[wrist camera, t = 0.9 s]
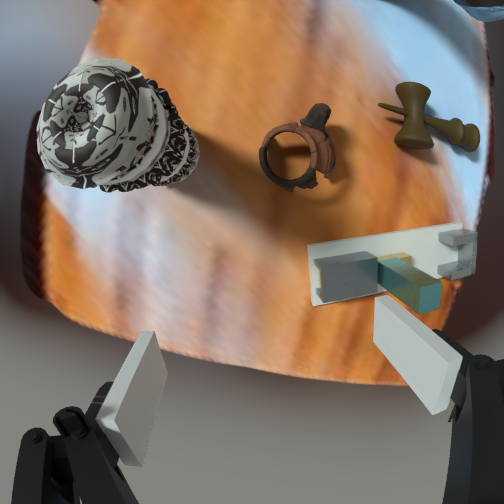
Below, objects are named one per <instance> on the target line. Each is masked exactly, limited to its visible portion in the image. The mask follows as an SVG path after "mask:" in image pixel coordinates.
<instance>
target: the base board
mask: <svg viewBox="0 0 504 504" xmlns="http://www.w3.org/2000/svg"><path fill="white" fill-rule="evenodd" d="M456 229H462V222H454V223H447V224H440V225H434V226H427V227H420V228H413V229H406V230H400V231H393V232H386V233H379V234H373V235H366V236H359V237H352V238H346V239H339V240H332V241H325V242H318V243H312V244H307V251H308V262H309V275H310V288H311V302H312V305H313V306H317V305H323V304H328V303H333V302H338V301H343V300H348V299H353V298H358V297H363V296H367V295H372V294H376V293H381V292H385V291H387V290H386V289H385V288H383V287H382V286H381V285H379V284H378V292H376V293H372V294H367V295H363V296H358V297H353V298H348V299H343V300H338V301H333V302H328V303H323V302H322V301H321V299H320V298H319V297H318V295H317V294H316V288H321V287H320V286H319V273H318V268H317V267H316V266H315V265H314V260H313V259H319V258H325V257H331V256H338V255H344V254H350V253H356V252H362V251H367V252H369V253H371V254H372V255H374V256H376V257H380V256H385V255H391V254H396V253H402V252H404V253H407V254H409V255H411V256H412V261H411V265H412V266H413V267H415V268H417V269H419V270H421V271H423V272H425V273H427V274H429V275H430V276H432V277H434V278H436V279H439V278H442V277H443V276H441V275H439V274H437V268H438V265H442V264H446V263H450V262H454V261H458V245H456V246H452V245H449V244H446V243H443V242H440V241H438V232H444V231H450V230H456Z"/></svg>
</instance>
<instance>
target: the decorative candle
mask: <svg viewBox="0 0 504 504" xmlns="http://www.w3.org/2000/svg"><path fill="white" fill-rule="evenodd" d="M157 88H158V85H157V83H156V81H154V80H153V79H144V77H143V76H142V74H141V72H140V71H139V69H137V68H135V67H134V66H132V65H130V64H128V63H127V62H125V61H123V60H121V59H107V58H98V59H95V60H92V61H90V62H87V63H84V64H82V65H79V66H77V67H75V68H74V69H73V70H72V71H71V72H69V73H68V74H67V75H66V76H65V77H63V78H62V79H61V80H60V81H59V82H58V83H57V84H56V85H55V87H54V89H53V90H52V92H51V93H50V95H49V96H48V98H47V99H46V101H45V103H44V104H43V108H42V111H41V115H40V118H39V122H38V126H37V143H38V153H39V155H40V157H41V159H42V162H43V164H44V166H45V168H46V171H47V172H48V173H49V174H51V175H52V176H53V177H54V178H55V179H57V180H58V181H59V182H60V183H61V184H62V185H67V186H72V187H76V188H81V189H85V188H89V187H92V188H95V187H97V186H98V185H99V187H100V189H101V190H102V191H104V192H112V191H114V190H117V189H118V190H119V191H121V192H128V191H132V190H133V189H135V188H136V189H139V188H144V187H146V186H148V185H150V184H152V185H153V186H167V185H169V184H177V183H179V182H181V181H182V180H184V179H185V178H187V177H188V176H190V174H191V173H192V172H193V170H194V169H195V167H196V166H197V163H198V159H199V155H200V151H199V144H198V141H197V139H196V137H195V134H194V133H193V131H192V130H190V128H189V127H188V126H187V125H186V124H185V123H184V122H183V121H182V119H181V118H180V117H179V116H178V111H177V110H176V107H175V105H174V104H173V103H171V99H170V98H169V94H168V92H167V91H166V90H165V89H163V88H158V89H157Z"/></svg>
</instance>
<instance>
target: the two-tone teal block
mask: <svg viewBox="0 0 504 504" xmlns="http://www.w3.org/2000/svg"><path fill="white" fill-rule="evenodd" d="M377 258H378V284H379V285H381V286H382V287H383V288H385V289H386V290H387V291H389V292H390V293H391V294H393V295H394V296H395V297H396V298H398V299H399V300H400V301H402V302H403V303H404V304H406V305H407V306H408V307H409V308H411V309H412V310H413V311H415V312H416V313H417V314H422V313H425V312H428V311H432V310H435V309H438V308H440V300H441V290H442V282H441V281H440V280H438V279H436V278H434V277H432V276H430V275H429V274H427V273H425V272H423V271H421V270H419V269H417V268H415V267H413V266H412V265H411V261H412V256H411V255H409V254H407V253H404V252H402V253H396V254H391V255H385V256H380V257H377ZM318 273H319V286H320V287H321V280H320V270H319V269H318Z"/></svg>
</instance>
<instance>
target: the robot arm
mask: <svg viewBox="0 0 504 504" xmlns="http://www.w3.org/2000/svg"><path fill="white" fill-rule="evenodd" d="M453 1H454V2H455V3H456V4H458V5H459V6H461V7H462V8H463V9H464V10H465V11H466V12H467V13H468V14H469V15H470V16H471V17H473V18H475V19H477V20H480V21H496V20H500V19H503V18H504V0H453ZM373 342H374V343H375V344H376V346H377V347H378V348H379V349H380V350H381V352H382V353H383V354H384V355H385V356H386V358H387V359H388V360H389V361H390V362H391V364H392V365H393V366H394V367H395V369H396V370H397V371H398V372H399V374H400V375H401V376H402V377H403V378H404V380H405V381H406V382H407V383H408V385H409V386H410V387H411V388H412V390H413V391H414V392H415V393H416V395H417V396H418V397H419V398H420V400H421V401H422V402H423V403H424V405H425V406H426V407H427V409H428V410H429V411H430V412H431V414H432V415H434V414H436V413H439V412H441V411H443V410H445V409H447V407H448V404H449V401H450V398H451V399H452V400H453V402H454V403H455V405H454V408H453V410H452V413H451V415H450V418H449V421H448V422H451V419H452V418H453V419H452V420H453V421H452V437H451V449H450V458H449V467H448V474H447V481H446V487H445V492H444V498H443V503H442V504H504V359H502V360H498V361H494V360H493V359H492V358H491V357H489V356H486V355H475V356H473V355H472V354H471V353H469V352H468V351H467V350H466V349H465V348H463V347H462V346H461V345H460V344H458V343H456V341H455V340H454V339H451V337H450V336H448V335H447V334H446V333H445V332H442V331H440V330H437V329H433V330H431V329H429V328H428V327H427V326H426V325H425V324H423V323H422V322H421V321H420V320H418V319H417V318H416V317H415V316H413V315H412V314H411V313H410V312H408V311H407V310H406V309H405V308H403V307H402V306H401V305H400V304H398V303H397V302H396V301H395V300H393V299H392V298H391V297H389V296H388V295H384V296H380V297H375V316H374V334H373ZM167 375H168V372H167V370H166V367H165V363H164V360H163V357H162V354H161V351H160V348H159V344H158V341H157V338H156V334H155V331H147V332H141V333H140V335H139V336H138V338H137V340H136V342H135V344H134V346H133V347H132V349H131V351H130V353H129V355H128V356H127V358H126V360H125V362H124V364H123V366H122V368H121V370H120V371H119V374H118V375H117V377H116V379H115V381H114V382H106V383H105V384H104V385H103V386H102V387H100V388H99V390H98V392H97V394H96V396H95V397H94V399H93V401H92V403H91V405H90V406H89V408H88V410H87V412H86V414H85V415H84V413H83V411H82V410H81V409H80V408H78V407H73V406H71V407H66V408H63V409H61V410H60V411H59V412H58V413H56V414H55V416H54V418H53V423H54V425H55V426H56V428H57V430H58V431H59V433H60V434H61V435H59V436H49V435H48V434H47V432H46V431H45V430H44V429H42V428H33V429H30V430H28V431H27V432H26V433H25V434H24V435H23V438H22V440H21V445H20V449H19V454H18V460H17V465H16V471H15V477H14V484H13V492H12V502H11V504H80V498H81V501H82V504H139V503H138V501H137V500H136V498H135V496H134V494H133V492H132V491H131V489H130V487H129V485H128V483H127V481H126V479H125V477H124V475H123V473H122V471H121V470H120V468H119V467H118V465H117V462H118V459H119V457H120V459H121V460H122V462H123V463H124V464H125V465H128V466H140V467H142V466H143V462H144V458H145V454H146V450H147V446H148V443H149V439H150V435H151V431H152V428H153V423H154V420H155V417H156V413H157V409H158V406H159V402H160V399H161V395H162V392H163V388H164V385H165V381H166V378H167Z"/></svg>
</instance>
